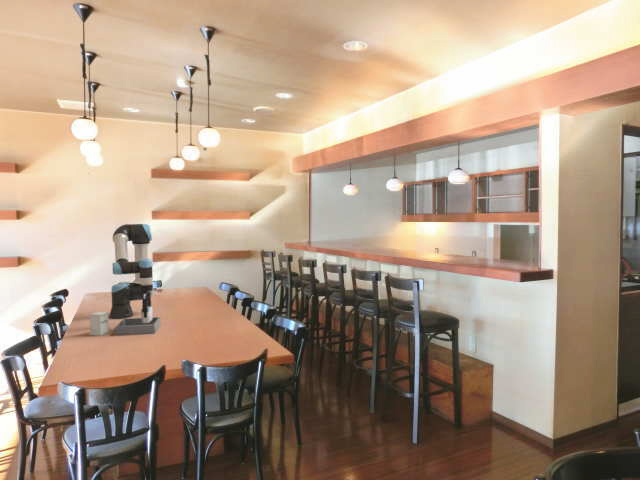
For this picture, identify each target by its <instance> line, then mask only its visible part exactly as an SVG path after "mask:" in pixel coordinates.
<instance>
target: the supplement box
mask: <svg viewBox="0 0 640 480" xmlns="http://www.w3.org/2000/svg"><path fill="white" fill-rule="evenodd" d="M109 327H110V326H109V312H108V311H96V312H93V313H90V314H89V336H96V337H97V336H100V337H101V336H102V335H105V334H109V333H110V329H109Z"/></svg>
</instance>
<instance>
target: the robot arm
mask: <svg viewBox="0 0 640 480" xmlns="http://www.w3.org/2000/svg"><path fill="white" fill-rule="evenodd" d="M152 240H153V236H152V230H151V226H150V225H149V224H148V223H147V224H145V223H136V224H135V223H133V224H128V223H126V224H122V225H120V226H119V227H117V228H116V229H115V230H114V231H113V235H112V242H113V244H114V258H115V259H114V260H115V261H114V262H113V263H112V265H111V266H112V274H113V275H116V276H117V275H131V274H132V275H133V274H134V280H133V281H132V283H130V282H129V281H128V282H127V281H126V282H125V281H123V282H119V283H116V284H112V286H111V291H110V292H111V308H110V312H109V314H108V317H109V319H113V320H114V319H115V320H117V319H129V318H131V317H134V311H133V309H132V305H131V302H133V301H142V303H141V305H142V307H141V309H142V312H143V323H148V306H151V307H152V296H153V291H154V286H153V285H154V281H153V279H154V277H153V260H152V259H151V258H149V254H148V253H149V252H148V250H149V249H148V246H149V245H150V243H151V241H152ZM128 242H131V244H132V245H133V246H134V261H129V252H128V251H129V250H128Z"/></svg>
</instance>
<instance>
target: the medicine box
mask: <svg viewBox="0 0 640 480" xmlns="http://www.w3.org/2000/svg"><path fill="white" fill-rule="evenodd" d="M140 311H141V317H140V318H142V323H143V312H142V308H141V310H140ZM152 320H153V306H152V305H151V306H148V323H149V322H150V321H152Z"/></svg>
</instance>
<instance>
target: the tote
mask: <svg viewBox="0 0 640 480" xmlns="http://www.w3.org/2000/svg"><path fill="white" fill-rule="evenodd" d="M161 320H162V319H161V316H158V317H157V316H156V317H155V316H154V317H153V320H152V321H150V322H149V323H142V317H138V318H135V317H133V318H131V317H130V318H122V320H121V321H119V323H118V324H117V325H116V326H114V335H115V336H117V337H118V336H131V335H133V336H134V335H150V334H152V335H153V334H156V333H157V331H158V329H159V328H160V326H161Z"/></svg>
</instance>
